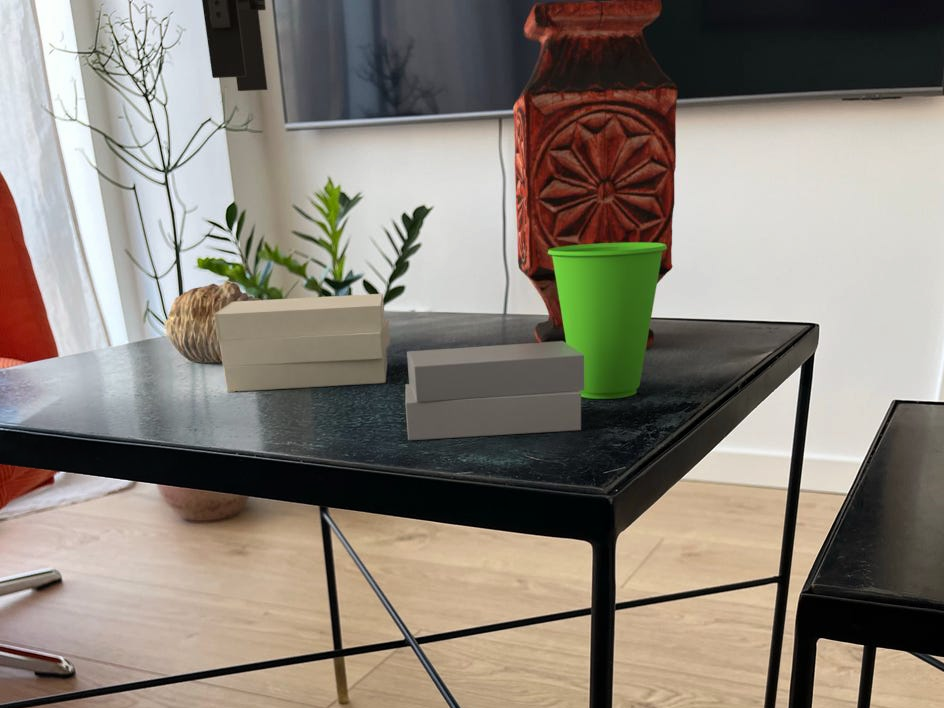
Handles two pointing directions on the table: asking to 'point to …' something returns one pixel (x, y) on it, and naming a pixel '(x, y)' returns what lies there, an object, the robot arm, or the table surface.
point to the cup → (608, 310)
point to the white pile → (305, 361)
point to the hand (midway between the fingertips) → (242, 84)
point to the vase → (592, 140)
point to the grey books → (494, 390)
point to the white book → (300, 317)
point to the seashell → (201, 320)
